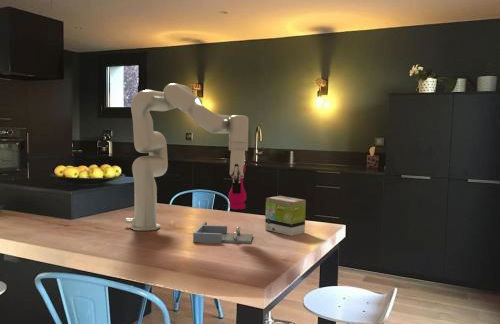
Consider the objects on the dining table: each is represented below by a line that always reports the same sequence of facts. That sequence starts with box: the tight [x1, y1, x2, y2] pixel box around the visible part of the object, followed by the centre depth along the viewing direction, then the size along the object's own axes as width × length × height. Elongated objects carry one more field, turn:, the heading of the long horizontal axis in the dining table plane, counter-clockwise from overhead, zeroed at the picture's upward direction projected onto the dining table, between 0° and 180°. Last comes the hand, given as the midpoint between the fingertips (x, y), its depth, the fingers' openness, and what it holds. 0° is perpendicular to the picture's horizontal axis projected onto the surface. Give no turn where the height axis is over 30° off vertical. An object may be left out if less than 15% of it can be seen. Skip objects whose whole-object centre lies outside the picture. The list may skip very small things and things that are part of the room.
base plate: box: [221, 226, 254, 245], centre depth 179 cm, size 12×12×4 cm
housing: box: [192, 221, 228, 244], centre depth 184 cm, size 11×23×4 cm, turn 175°
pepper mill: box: [228, 165, 248, 210], centre depth 178 cm, size 7×7×20 cm
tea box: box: [264, 195, 307, 237], centre depth 195 cm, size 15×10×15 cm
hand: (237, 191), depth 178 cm, fingers closed on pepper mill, 5 cm apart
